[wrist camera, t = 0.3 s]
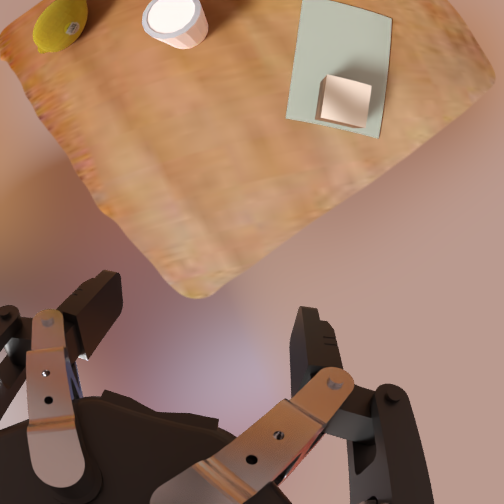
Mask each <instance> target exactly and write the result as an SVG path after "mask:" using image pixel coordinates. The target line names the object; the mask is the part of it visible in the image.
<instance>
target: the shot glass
mask: <svg viewBox="0 0 504 504" xmlns="http://www.w3.org/2000/svg"><path fill="white" fill-rule="evenodd" d="M142 25H143V27H144V30H145V32H146V33H148V34H149V35H150V36H152V37H153V38H156V39H158V40H160V41H162V42H164V43H167V44H169V45H171V46H173V47H176V48H180V49H188V48H192V47H194V46H196V45H198V44H200V43H201V42H202V41H203V40H204V39H205V37H206V35H207V33H208V23H207V20H206V17H205V14H204V12H203V9H202V6H201V4H200V1H199V0H152V1H151V2H150V3H149V4H148V6H147V7H146V9H145V11H144V13H143V18H142Z"/></svg>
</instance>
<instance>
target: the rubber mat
mask: <svg viewBox="0 0 504 504" xmlns="http://www.w3.org/2000/svg"><path fill="white" fill-rule="evenodd" d="M391 25H392V19H391V18H389V17H386V16H383V15H380V14H377V13H374V12H370V11H367V10H364V9H360V8H357V7H353V6H350V5H346V4H342V3H338V2H334V1H329V0H302V8H301V15H300V22H299V30H298V37H297V44H296V51H295V58H294V65H293V72H292V79H291V85H290V92H289V99H288V106H287V112H286V119H292V120H298V121H303V122H309V123H314V124H319V125H324V126H328V127H333V128H337V129H342V130H346V131H350V132H354V133H358V134H362V135H366V136H370V137H374V138H377V139H379V133H380V127H381V121H382V114H383V107H384V100H385V92H386V84H387V75H388V66H389V55H390V42H391ZM327 74H328V75H332V76H337V77H341V78H345V79H349V80H353V81H357V82H360V83H364V84H367V85H371V86H372V87H371V95H370V102H369V109H368V116H367V122H366V128H351V127H347V126H342V125H338V124H333V123H329V122H324V121H319V120H315V115H316V108H317V101H318V95H319V88H320V82H321V81H322V80H323V79H324V77H325V76H326V75H327Z"/></svg>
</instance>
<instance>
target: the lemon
mask: <svg viewBox="0 0 504 504" xmlns="http://www.w3.org/2000/svg"><path fill="white" fill-rule="evenodd" d="M87 16H88V8H87V4H86V0H55V1H54V2H53V3H51V4H50V5H49V6H48V7H47V8H46V9H45V10H44V12H43V13H42V14H41V15H40V17H39V18H38V20H37V22H36V24H35V27H34V30H33V40H34V42H35V44H36V45H37V46H38V51H39V53H46V52H58V51H61V50H63V49H65V48H67V47H68V46H70V45H71V44H72V43H73V42H74V41H75V40H76V39H77V38H78V37H79V36H80V34H81V33H82V31H83V29H84V27H85V24H86V21H87Z"/></svg>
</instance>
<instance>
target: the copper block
mask: <svg viewBox="0 0 504 504" xmlns="http://www.w3.org/2000/svg"><path fill="white" fill-rule="evenodd" d="M371 87H372V86H371V85H367V84H364V83H360V82H357V81H353V80H349V79H345V78H341V77H337V76H332V75H328V74H327V75H326V76H325V77H324V79H323V80H322V81H321V82H320V88H319V95H318V101H317V108H316V115H315V120H319V121H324V122H329V123H333V124H338V125H342V126H347V127H351V128H366V122H367V116H368V109H369V102H370V95H371Z"/></svg>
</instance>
